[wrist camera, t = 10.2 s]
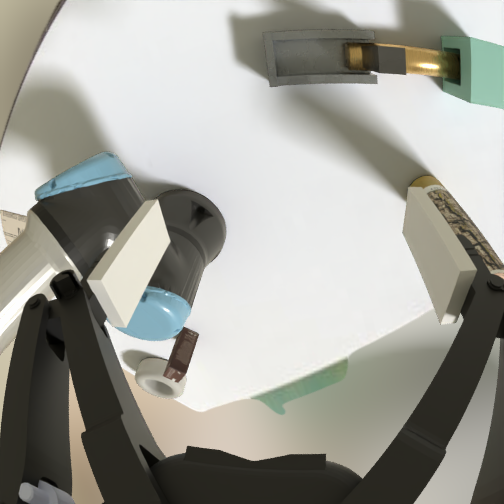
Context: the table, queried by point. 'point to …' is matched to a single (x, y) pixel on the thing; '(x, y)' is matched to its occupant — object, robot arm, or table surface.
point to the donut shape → (158, 379)
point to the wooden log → (460, 221)
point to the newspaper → (12, 225)
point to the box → (181, 355)
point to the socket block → (476, 71)
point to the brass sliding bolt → (402, 60)
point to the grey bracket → (313, 57)
